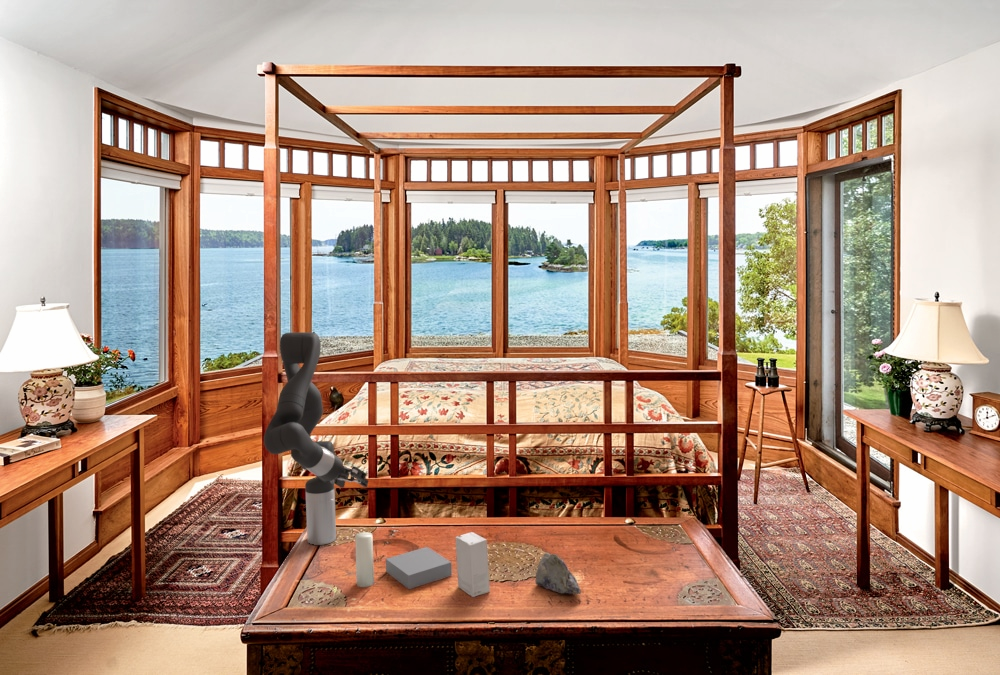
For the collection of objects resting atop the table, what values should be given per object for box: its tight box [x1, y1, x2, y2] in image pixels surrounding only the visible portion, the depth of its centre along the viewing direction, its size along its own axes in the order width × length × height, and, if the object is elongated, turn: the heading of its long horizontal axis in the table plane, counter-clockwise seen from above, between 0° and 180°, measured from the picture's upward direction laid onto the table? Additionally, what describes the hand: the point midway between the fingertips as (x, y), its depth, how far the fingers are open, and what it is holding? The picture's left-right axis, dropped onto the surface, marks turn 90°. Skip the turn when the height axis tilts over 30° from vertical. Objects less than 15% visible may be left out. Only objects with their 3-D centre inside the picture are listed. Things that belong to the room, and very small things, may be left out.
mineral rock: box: [534, 552, 582, 595], centre depth 179 cm, size 13×11×10 cm
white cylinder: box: [354, 531, 375, 588], centre depth 185 cm, size 5×5×14 cm
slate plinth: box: [385, 546, 453, 590], centre depth 191 cm, size 14×14×4 cm
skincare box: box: [455, 531, 491, 598], centre depth 180 cm, size 8×6×15 cm
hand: (355, 484), depth 196 cm, fingers open, 8 cm apart
